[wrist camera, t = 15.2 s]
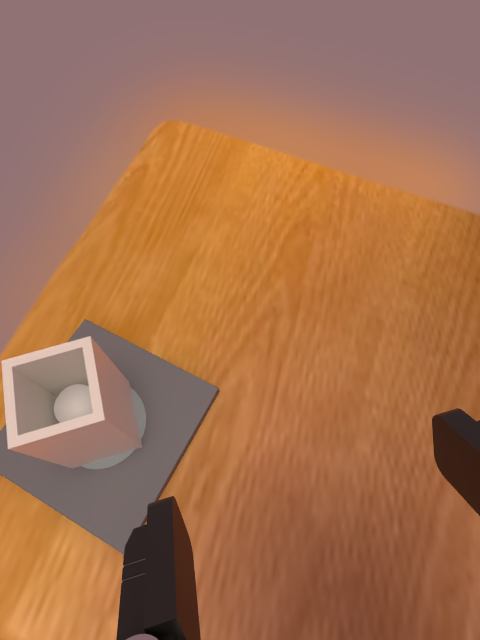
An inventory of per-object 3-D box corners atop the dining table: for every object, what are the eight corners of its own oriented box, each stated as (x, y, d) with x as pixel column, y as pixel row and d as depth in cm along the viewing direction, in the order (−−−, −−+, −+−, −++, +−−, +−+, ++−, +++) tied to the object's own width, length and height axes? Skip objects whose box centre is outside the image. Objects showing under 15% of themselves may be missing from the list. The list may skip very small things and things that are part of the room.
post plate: (88, 323, 40) (58, 286, 34) (219, 391, 37) (213, 364, 31) (-15, 461, 35) (-73, 448, 29) (127, 553, 32) (98, 561, 26)
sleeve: (63, 401, 36) (1, 360, 27) (129, 382, 37) (90, 336, 28) (72, 468, 34) (7, 448, 25) (142, 446, 34) (104, 419, 25)
